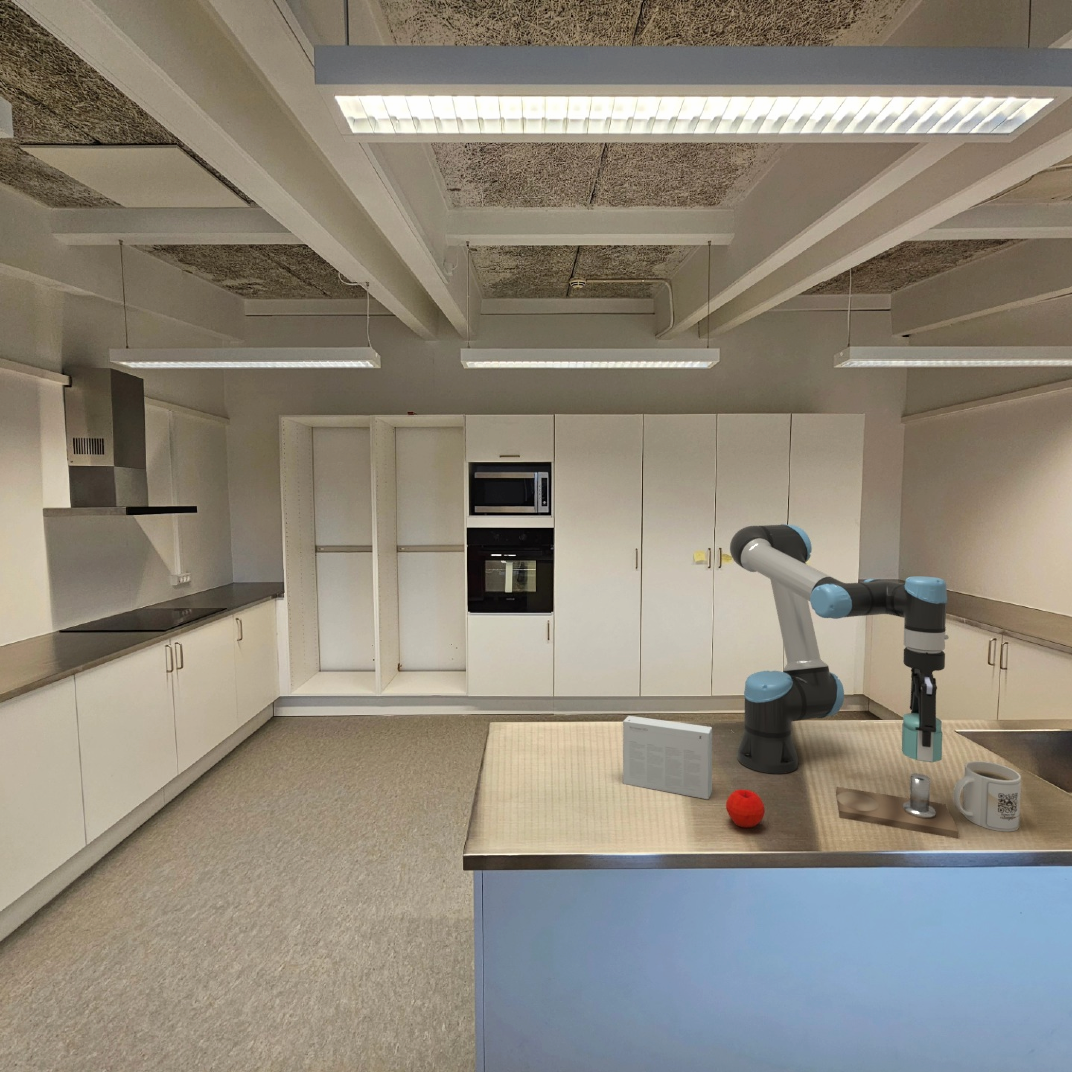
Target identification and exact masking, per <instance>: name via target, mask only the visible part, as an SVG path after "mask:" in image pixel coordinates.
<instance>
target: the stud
mask: <svg viewBox="0 0 1072 1072" xmlns="http://www.w3.org/2000/svg"><path fill="white" fill-rule="evenodd" d="M909 781H910V783H909V785H910V787H909V798H910V801H909V802H905V803H904V804H903V809H904V811H905V812H906V813H908V814H909V815H912V816H914V817H917V818H922V819H932V818H935V816H936V811H935V809H934V808H932V807H931V806H929V801H930V794H931V793H930V790H931V778H930V777H929V776H927V775H925V774H923V773H911V774H910V780H909Z"/></svg>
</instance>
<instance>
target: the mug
mask: <svg viewBox="0 0 1072 1072" xmlns="http://www.w3.org/2000/svg"><path fill="white" fill-rule="evenodd" d="M1021 788H1022V776H1021V774H1020V773H1019V772H1018V771H1016V770H1014V769H1013V768H1011V767H1008V766H1005V765H1003V764H999V763H995V762H991V761H984V760H974V761H973V760H972V761H967V762H966V763H965V764H964V776H962V777H961V778H960V779H959V780H958V781H957V782H956V783H955V786H954V788H953V792H952V801H953V805H954V807H955V808H956V809H957V811H958V812H960V813H962V814H963V816H964V818H966V819H967V820H969V821H970V822H971V823H973V824H975V825H977V826H979V827H982V828H985V829H988V830H991V831H998V832H1005V833H1007V832H1009V833H1010V832H1015V831H1017V830H1018V829H1019V827H1020V815H1021V812H1020V811H1021V810H1020V809H1021V795H1022V793H1021V790H1022V789H1021ZM962 791H963V803H962V804H963V805H962V804H961V794H962Z"/></svg>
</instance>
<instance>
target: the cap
mask: <svg viewBox="0 0 1072 1072" xmlns="http://www.w3.org/2000/svg"><path fill="white" fill-rule="evenodd" d="M902 717H903V718H902V719H903V721H902V725H901V726H902V727H901V753H902V754H903V755H904V756H905V757H908V758H910V759H913V760H915V761H918V762H919V761H920V762H925V763H935V762H939V761H942V759H943V758H942V757H943V731H942V725H943V724H942V720H941V719H940V718H938V717H936V732H933V762H931V761H923V760H918V759H917V741H918V730H915V727H919V713H911V712H910V713H905V714H904V715H903V716H902ZM928 726H929V725H928Z"/></svg>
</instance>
